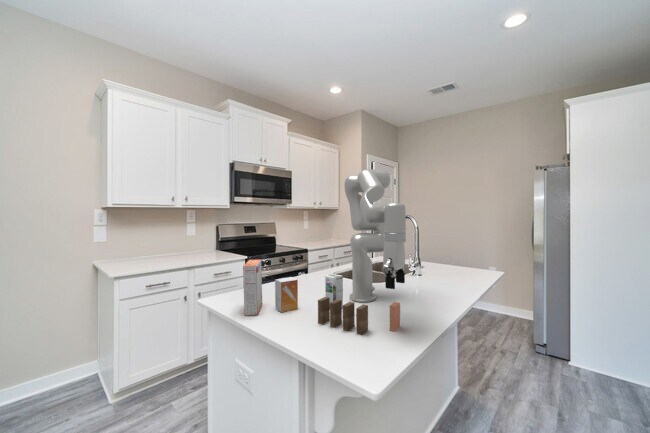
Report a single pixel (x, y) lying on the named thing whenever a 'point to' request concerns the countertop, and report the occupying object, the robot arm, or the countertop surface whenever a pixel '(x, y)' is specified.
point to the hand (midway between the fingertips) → (395, 285)
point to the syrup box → (334, 287)
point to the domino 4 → (361, 319)
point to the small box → (286, 294)
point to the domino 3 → (348, 316)
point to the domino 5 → (394, 316)
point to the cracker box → (252, 287)
